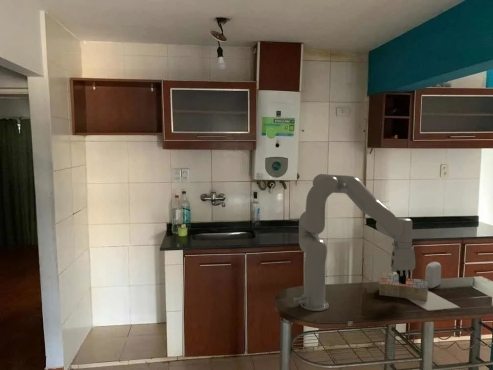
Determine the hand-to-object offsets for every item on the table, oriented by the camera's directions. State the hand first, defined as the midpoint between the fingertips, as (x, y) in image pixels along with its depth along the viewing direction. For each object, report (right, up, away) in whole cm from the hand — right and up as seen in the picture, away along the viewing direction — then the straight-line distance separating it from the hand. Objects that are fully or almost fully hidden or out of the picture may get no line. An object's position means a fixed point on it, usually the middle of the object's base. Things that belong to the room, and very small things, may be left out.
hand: (402, 283), depth 175 cm
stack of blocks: (+1, -5, +2) cm, 6 cm away
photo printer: (+25, -7, +21) cm, 33 cm away
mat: (+12, -8, +3) cm, 15 cm away
